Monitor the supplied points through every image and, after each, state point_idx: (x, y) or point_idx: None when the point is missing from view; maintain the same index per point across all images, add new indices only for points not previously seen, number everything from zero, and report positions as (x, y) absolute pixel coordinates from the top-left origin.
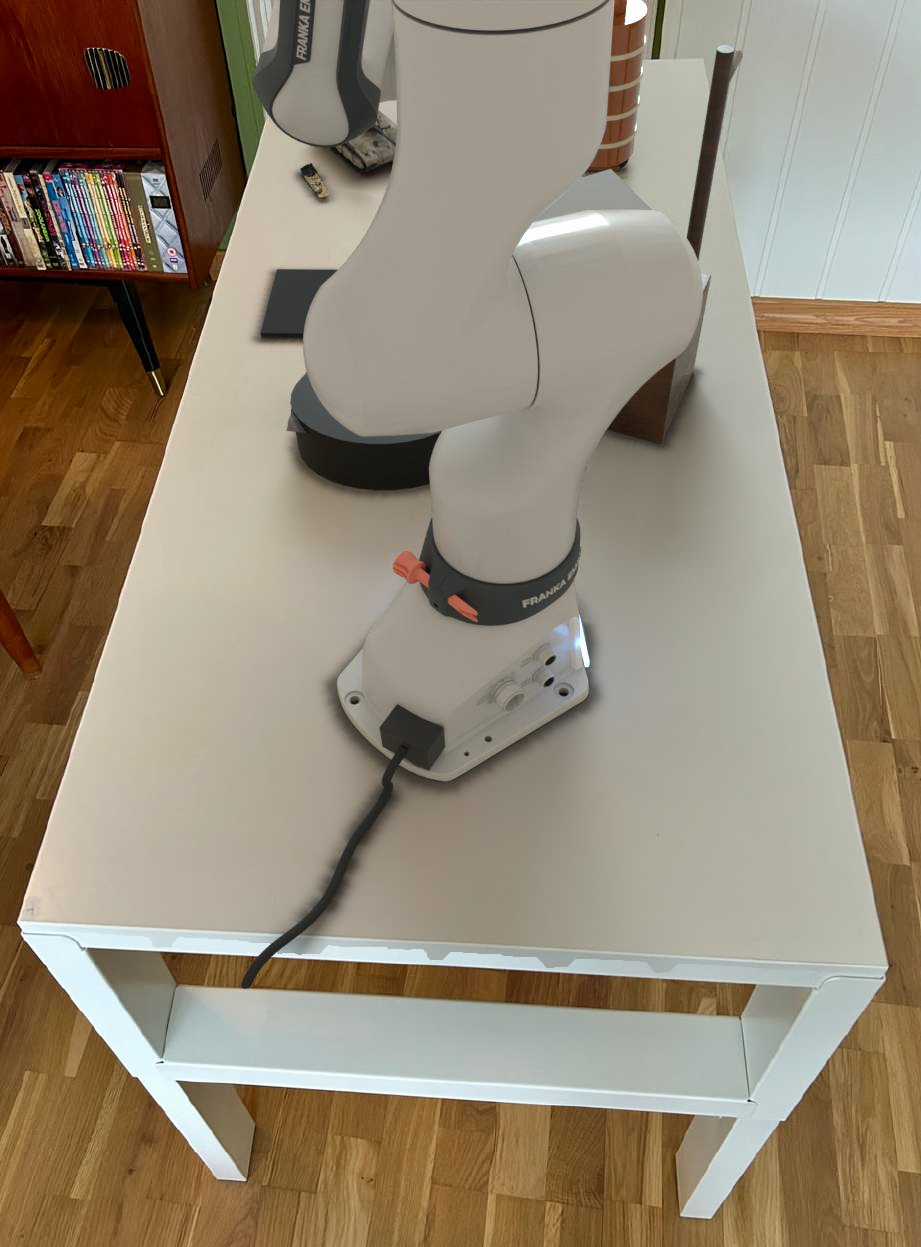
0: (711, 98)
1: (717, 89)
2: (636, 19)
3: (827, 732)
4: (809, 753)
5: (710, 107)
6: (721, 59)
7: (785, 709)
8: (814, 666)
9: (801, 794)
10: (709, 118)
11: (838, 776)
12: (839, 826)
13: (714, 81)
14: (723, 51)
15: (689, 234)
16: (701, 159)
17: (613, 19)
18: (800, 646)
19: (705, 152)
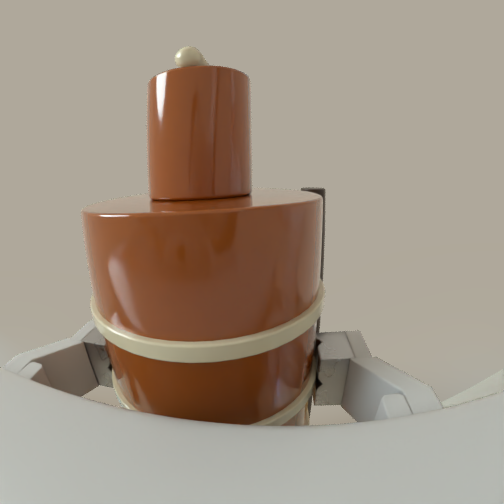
0: (322, 252)
1: (324, 236)
2: (260, 188)
3: (471, 387)
4: (482, 388)
5: (321, 264)
6: (324, 197)
7: (474, 399)
8: (449, 398)
9: (496, 385)
10: (322, 277)
11: (483, 380)
12: (496, 375)
13: (323, 228)
14: (320, 188)
15: (309, 407)
16: (316, 330)
17: (270, 192)
18: (444, 404)
19: (319, 319)
